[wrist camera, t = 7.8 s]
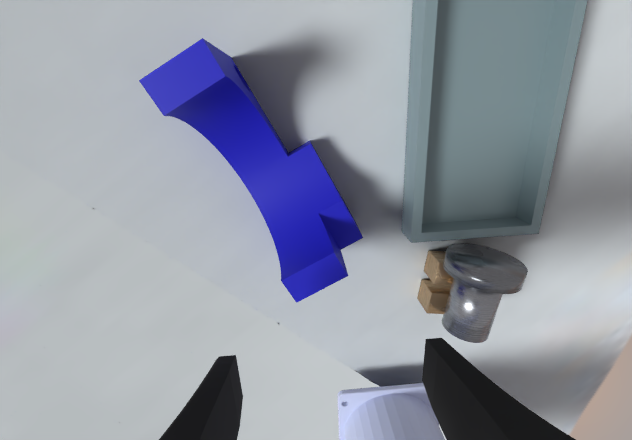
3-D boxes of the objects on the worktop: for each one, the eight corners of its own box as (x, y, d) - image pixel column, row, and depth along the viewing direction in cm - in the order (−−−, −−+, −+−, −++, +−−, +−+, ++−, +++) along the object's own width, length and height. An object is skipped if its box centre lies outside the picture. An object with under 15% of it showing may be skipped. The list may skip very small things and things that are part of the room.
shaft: (428, 235, 22) (468, 275, 17) (489, 239, 22) (546, 279, 17) (414, 298, 24) (447, 351, 19) (471, 300, 24) (518, 353, 19)
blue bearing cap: (354, 219, 22) (374, 261, 16) (296, 251, 22) (296, 302, 17) (254, 43, 18) (236, 16, 12) (187, 86, 18) (139, 80, 13)
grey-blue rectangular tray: (518, 222, 22) (538, 233, 20) (401, 231, 22) (411, 242, 20) (573, -72, 17) (607, -93, 15) (416, -67, 16) (431, -88, 14)
